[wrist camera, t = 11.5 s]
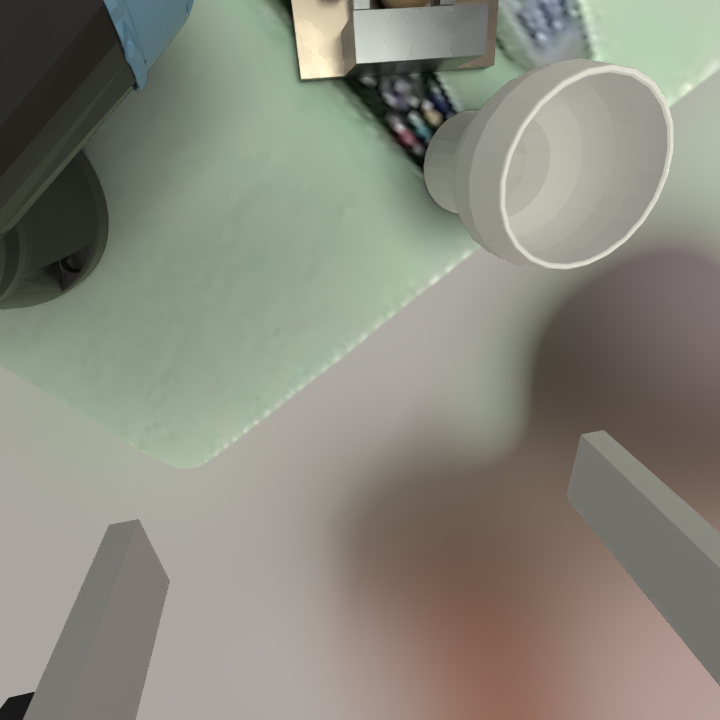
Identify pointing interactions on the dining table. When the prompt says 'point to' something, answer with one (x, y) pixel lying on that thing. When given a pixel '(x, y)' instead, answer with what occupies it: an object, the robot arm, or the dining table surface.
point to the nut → (404, 3)
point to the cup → (555, 163)
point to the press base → (391, 37)
